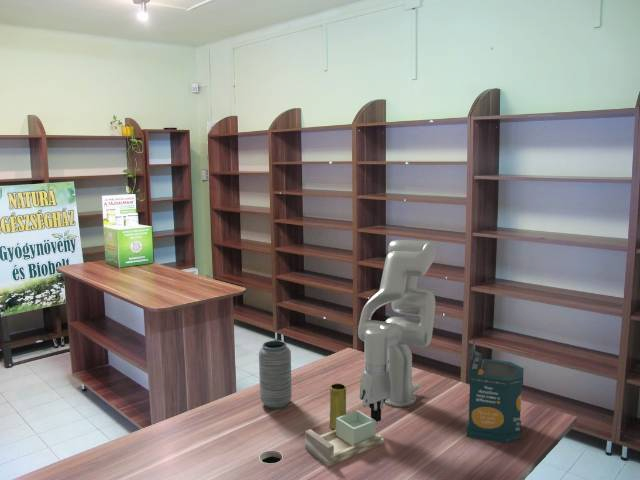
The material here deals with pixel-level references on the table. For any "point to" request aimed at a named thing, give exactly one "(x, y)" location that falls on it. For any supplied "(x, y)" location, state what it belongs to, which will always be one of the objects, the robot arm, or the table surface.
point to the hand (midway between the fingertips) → (375, 419)
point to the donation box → (494, 399)
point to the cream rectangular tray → (335, 446)
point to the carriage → (355, 427)
